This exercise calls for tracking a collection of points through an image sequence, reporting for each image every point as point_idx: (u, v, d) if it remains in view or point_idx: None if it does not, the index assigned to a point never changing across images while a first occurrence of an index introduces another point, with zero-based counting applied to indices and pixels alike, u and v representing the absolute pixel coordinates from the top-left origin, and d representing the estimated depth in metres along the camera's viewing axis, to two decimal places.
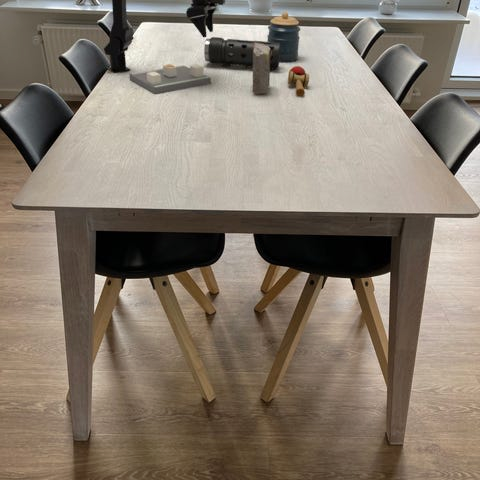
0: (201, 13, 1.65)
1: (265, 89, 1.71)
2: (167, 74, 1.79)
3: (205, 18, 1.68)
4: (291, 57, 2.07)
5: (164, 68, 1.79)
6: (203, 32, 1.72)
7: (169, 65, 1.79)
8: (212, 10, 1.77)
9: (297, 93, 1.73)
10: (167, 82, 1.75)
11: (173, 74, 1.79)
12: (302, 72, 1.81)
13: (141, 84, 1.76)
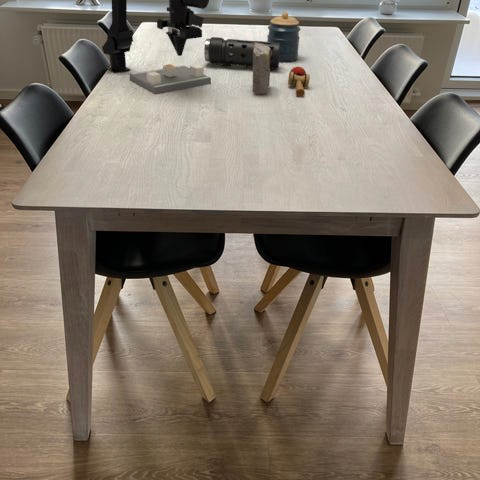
0: (200, 35, 1.62)
1: (265, 89, 1.71)
2: (167, 74, 1.79)
3: None
4: (291, 57, 2.07)
5: (164, 68, 1.79)
6: (181, 51, 1.70)
7: (169, 65, 1.79)
8: None
9: (297, 93, 1.72)
10: (167, 82, 1.75)
11: (173, 74, 1.79)
12: (302, 72, 1.81)
13: (141, 84, 1.76)
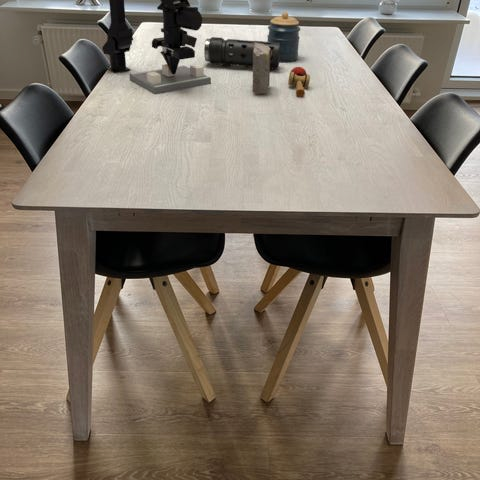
0: (192, 56, 1.69)
1: (265, 89, 1.71)
2: (166, 73, 1.80)
3: None
4: (291, 57, 2.07)
5: (163, 68, 1.80)
6: (174, 69, 1.77)
7: None
8: None
9: (297, 94, 1.72)
10: (167, 82, 1.75)
11: None
12: (303, 73, 1.81)
13: (141, 84, 1.76)
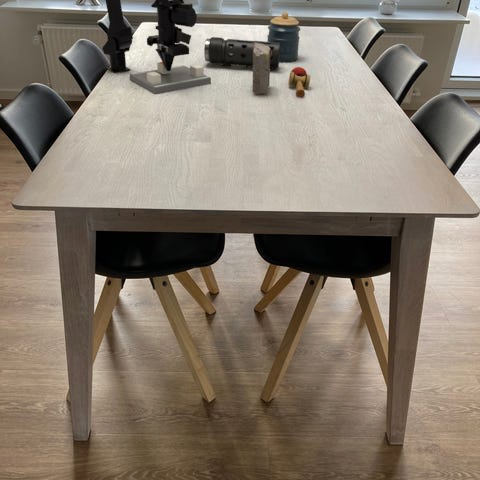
0: (187, 52, 1.71)
1: (265, 89, 1.71)
2: (161, 71, 1.82)
3: None
4: (291, 57, 2.07)
5: (158, 65, 1.82)
6: (169, 66, 1.79)
7: None
8: None
9: (297, 94, 1.72)
10: (167, 82, 1.75)
11: (167, 71, 1.82)
12: (303, 73, 1.81)
13: (141, 84, 1.76)
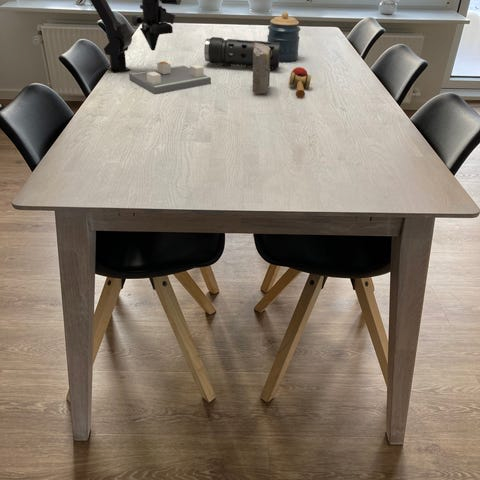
0: (170, 31, 1.75)
1: (265, 89, 1.71)
2: (161, 71, 1.82)
3: None
4: (291, 57, 2.07)
5: (158, 65, 1.82)
6: (154, 45, 1.83)
7: (163, 62, 1.81)
8: None
9: (297, 94, 1.72)
10: (167, 82, 1.75)
11: (167, 71, 1.82)
12: (304, 73, 1.80)
13: (141, 84, 1.76)
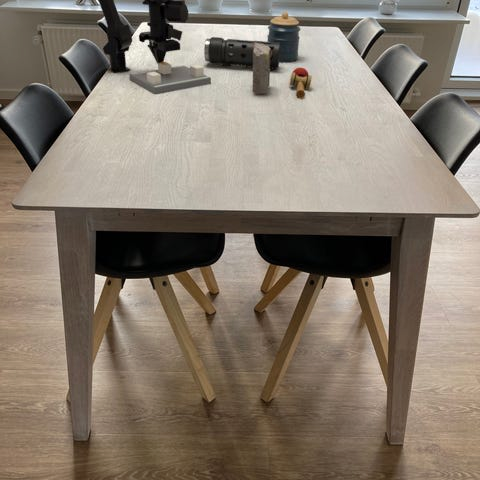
0: (178, 48, 1.75)
1: (265, 89, 1.71)
2: (162, 71, 1.81)
3: None
4: (291, 57, 2.07)
5: (159, 66, 1.82)
6: None
7: (164, 63, 1.81)
8: None
9: (297, 95, 1.71)
10: (167, 82, 1.75)
11: (167, 71, 1.81)
12: (305, 74, 1.80)
13: (141, 84, 1.76)
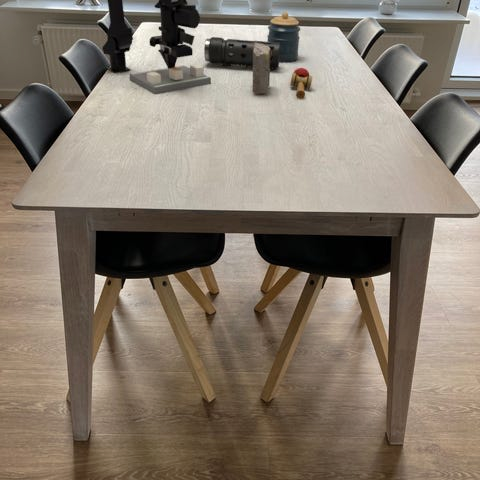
0: (190, 53, 1.70)
1: (265, 89, 1.71)
2: (173, 77, 1.76)
3: None
4: (291, 57, 2.07)
5: (170, 71, 1.77)
6: (172, 67, 1.78)
7: (175, 68, 1.76)
8: None
9: (297, 95, 1.71)
10: (167, 82, 1.75)
11: (179, 77, 1.76)
12: (305, 74, 1.80)
13: (141, 84, 1.76)
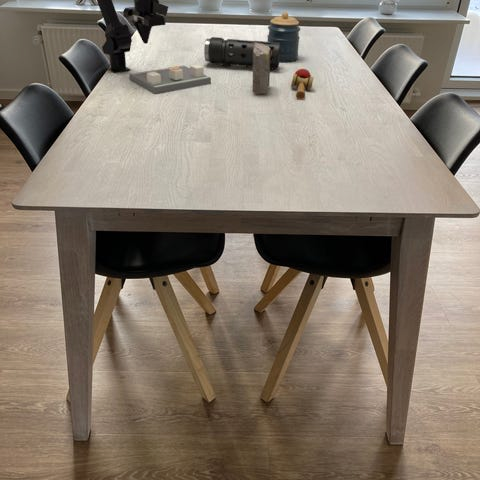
0: (163, 23, 1.68)
1: (265, 89, 1.71)
2: (173, 77, 1.76)
3: (152, 25, 1.74)
4: (291, 57, 2.07)
5: (170, 71, 1.77)
6: (146, 38, 1.76)
7: (175, 68, 1.76)
8: None
9: (297, 96, 1.71)
10: (167, 82, 1.75)
11: (179, 77, 1.76)
12: (307, 75, 1.79)
13: (141, 84, 1.76)
